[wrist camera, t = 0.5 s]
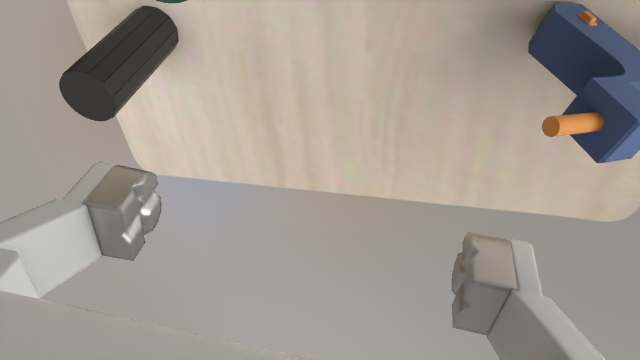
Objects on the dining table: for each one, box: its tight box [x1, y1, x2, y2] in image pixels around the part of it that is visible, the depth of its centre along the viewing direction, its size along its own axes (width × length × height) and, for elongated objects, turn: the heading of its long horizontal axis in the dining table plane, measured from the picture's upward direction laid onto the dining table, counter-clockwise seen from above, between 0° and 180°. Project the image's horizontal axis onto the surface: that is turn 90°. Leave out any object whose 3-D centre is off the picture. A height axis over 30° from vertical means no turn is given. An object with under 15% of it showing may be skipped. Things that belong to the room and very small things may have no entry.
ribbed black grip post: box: [59, 6, 178, 121], centre depth 52 cm, size 6×6×14 cm
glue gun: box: [528, 2, 640, 163], centre depth 43 cm, size 6×31×15 cm
